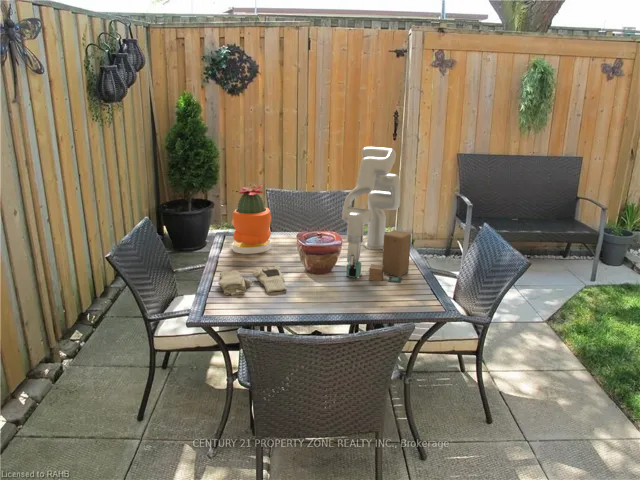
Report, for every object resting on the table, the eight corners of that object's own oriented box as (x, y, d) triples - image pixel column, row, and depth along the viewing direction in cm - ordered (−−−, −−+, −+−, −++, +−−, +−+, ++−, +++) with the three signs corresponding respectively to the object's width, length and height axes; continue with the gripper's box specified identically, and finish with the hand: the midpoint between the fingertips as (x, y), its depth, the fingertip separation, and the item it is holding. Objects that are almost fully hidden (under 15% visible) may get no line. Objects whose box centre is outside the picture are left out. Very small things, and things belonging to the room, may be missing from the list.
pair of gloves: (282, 273, 262) (281, 262, 260) (287, 294, 238) (287, 283, 236) (219, 275, 257) (218, 265, 255) (218, 298, 233) (217, 286, 231)
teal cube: (348, 272, 263) (349, 260, 261) (360, 273, 262) (361, 261, 260) (346, 276, 258) (346, 264, 256) (358, 277, 256) (359, 266, 254)
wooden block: (399, 277, 257) (401, 238, 251) (381, 272, 263) (383, 233, 257) (409, 271, 265) (412, 233, 258) (391, 267, 270) (393, 229, 264)
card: (389, 277, 258) (389, 276, 258) (401, 278, 256) (402, 277, 256) (387, 281, 252) (387, 280, 252) (400, 283, 251) (400, 282, 251)
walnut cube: (370, 275, 260) (371, 263, 258) (383, 276, 258) (383, 265, 257) (368, 279, 254) (369, 268, 252) (381, 281, 253) (382, 269, 251)
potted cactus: (228, 245, 297) (225, 183, 286) (266, 241, 306) (265, 180, 295) (239, 258, 279) (237, 192, 268) (280, 253, 288) (279, 188, 277)
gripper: (350, 232, 263) (349, 266, 268) (343, 242, 247) (342, 279, 252) (365, 233, 261) (364, 268, 267) (359, 244, 245) (358, 281, 251)
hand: (353, 273), depth 259 cm, fingers closed on teal cube, 6 cm apart
